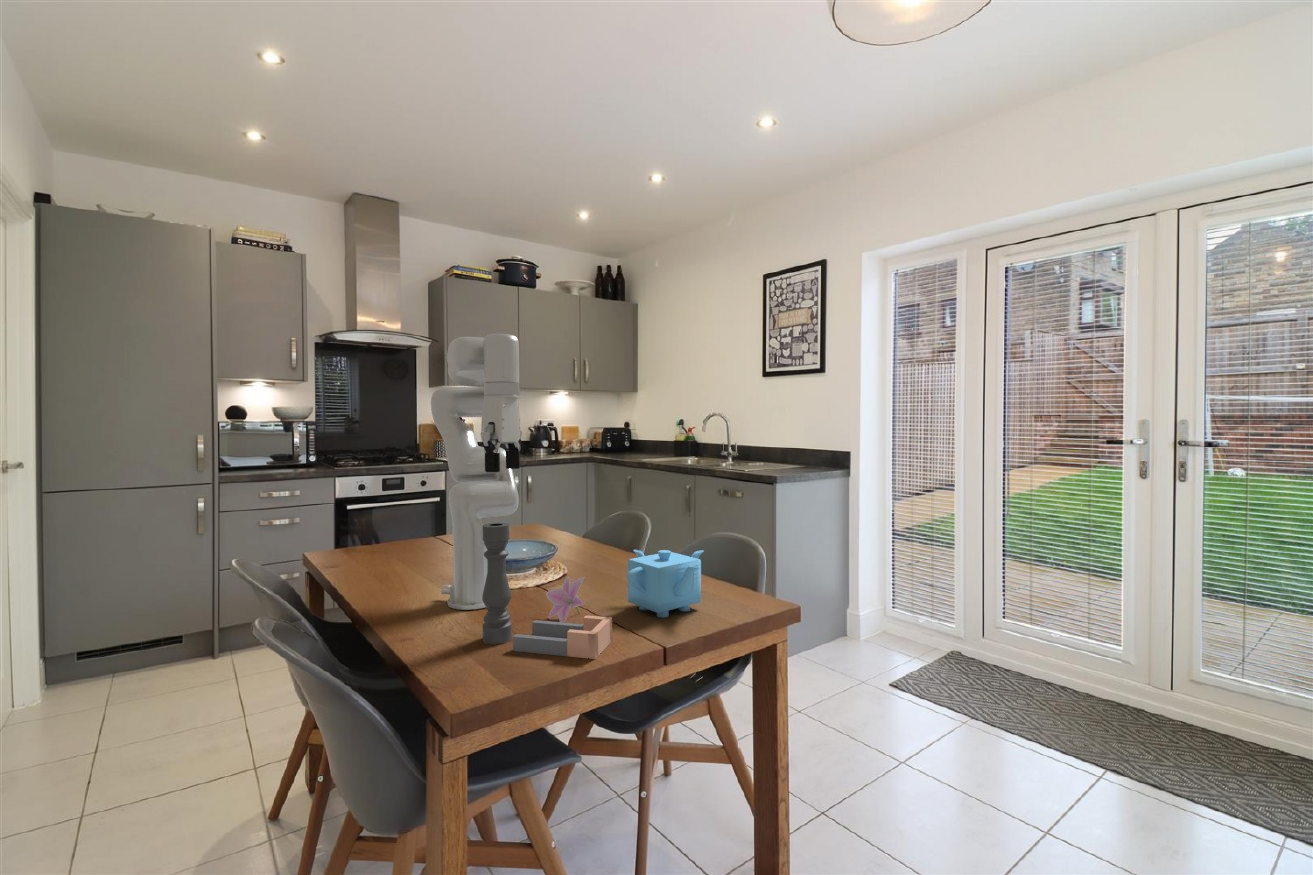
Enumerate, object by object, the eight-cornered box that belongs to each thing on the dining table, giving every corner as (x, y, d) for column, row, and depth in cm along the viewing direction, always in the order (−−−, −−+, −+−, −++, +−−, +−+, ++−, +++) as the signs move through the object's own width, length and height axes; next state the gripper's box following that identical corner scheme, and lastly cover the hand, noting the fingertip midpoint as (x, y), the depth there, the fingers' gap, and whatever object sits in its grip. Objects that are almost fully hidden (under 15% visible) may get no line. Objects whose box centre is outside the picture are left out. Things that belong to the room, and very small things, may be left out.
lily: (546, 614, 153) (533, 585, 149) (589, 592, 156) (577, 563, 152) (558, 644, 143) (544, 614, 138) (604, 620, 146) (592, 590, 141)
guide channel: (513, 650, 126) (512, 626, 126) (535, 633, 136) (535, 611, 136) (595, 659, 122) (595, 634, 122) (612, 640, 132) (612, 617, 132)
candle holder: (485, 634, 136) (484, 522, 135) (513, 633, 136) (512, 522, 135) (479, 644, 129) (478, 527, 129) (509, 644, 130) (508, 527, 129)
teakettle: (623, 620, 145) (623, 558, 145) (633, 596, 164) (633, 542, 164) (703, 622, 144) (703, 560, 143) (703, 598, 162) (703, 543, 162)
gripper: (504, 394, 142) (505, 467, 143) (465, 390, 125) (467, 473, 126) (534, 393, 141) (535, 467, 141) (499, 389, 124) (500, 473, 124)
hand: (503, 470), depth 133 cm, fingers open, 9 cm apart
